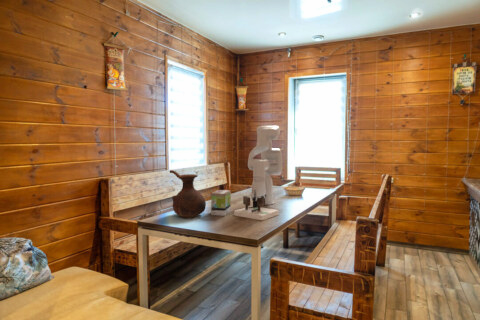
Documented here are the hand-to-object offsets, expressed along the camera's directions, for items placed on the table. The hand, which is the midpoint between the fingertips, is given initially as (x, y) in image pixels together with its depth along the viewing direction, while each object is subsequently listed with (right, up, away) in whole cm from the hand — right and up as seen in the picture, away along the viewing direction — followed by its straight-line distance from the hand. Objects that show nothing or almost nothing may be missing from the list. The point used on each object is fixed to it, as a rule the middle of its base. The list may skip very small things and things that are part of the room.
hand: (259, 205), depth 205 cm
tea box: (-25, -6, +7) cm, 27 cm away
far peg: (-5, -3, +5) cm, 8 cm away
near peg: (-2, -3, -2) cm, 5 cm away
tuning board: (-2, -6, +2) cm, 7 cm away
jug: (-46, -7, +1) cm, 46 cm away
